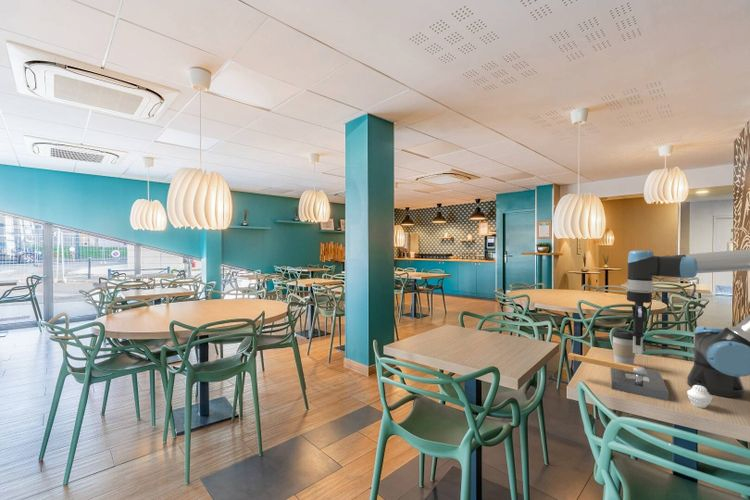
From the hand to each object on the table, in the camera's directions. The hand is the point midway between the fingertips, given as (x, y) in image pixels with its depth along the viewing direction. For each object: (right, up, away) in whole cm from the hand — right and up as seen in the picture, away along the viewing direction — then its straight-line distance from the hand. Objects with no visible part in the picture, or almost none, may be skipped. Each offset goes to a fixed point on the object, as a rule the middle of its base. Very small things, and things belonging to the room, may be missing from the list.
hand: (637, 353), depth 129 cm
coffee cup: (+12, -13, +23) cm, 29 cm away
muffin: (+9, -13, -16) cm, 22 cm away
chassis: (+2, -13, +3) cm, 13 cm away
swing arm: (-12, -5, +1) cm, 13 cm away
